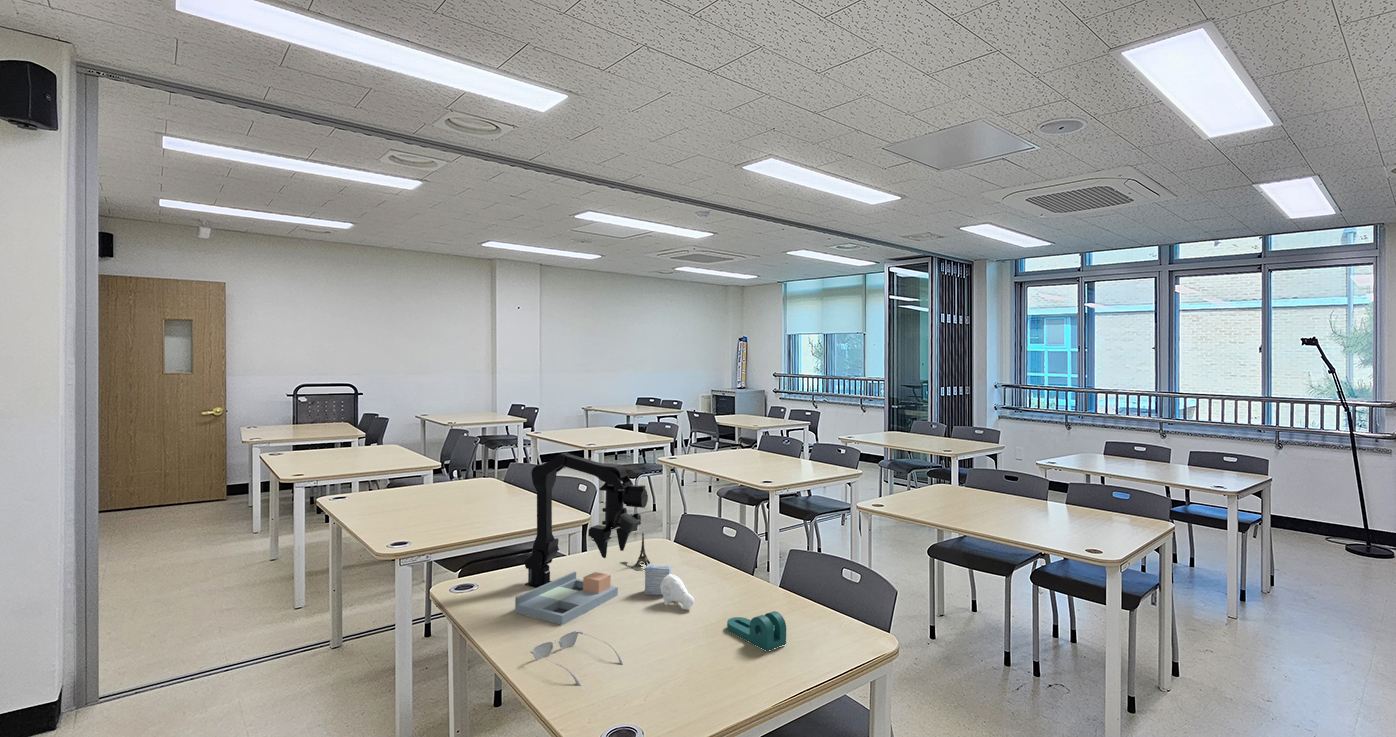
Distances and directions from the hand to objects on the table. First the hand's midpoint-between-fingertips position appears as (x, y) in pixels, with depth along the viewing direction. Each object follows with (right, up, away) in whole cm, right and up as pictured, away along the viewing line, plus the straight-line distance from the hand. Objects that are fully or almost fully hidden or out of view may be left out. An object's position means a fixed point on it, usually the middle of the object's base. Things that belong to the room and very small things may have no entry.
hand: (613, 554), depth 199 cm
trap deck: (-12, -12, -9) cm, 20 cm away
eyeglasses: (-2, -13, -47) cm, 49 cm away
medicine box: (+14, -13, +1) cm, 19 cm away
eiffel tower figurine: (+6, -13, +29) cm, 33 cm away
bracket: (+42, -14, -30) cm, 53 cm away
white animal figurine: (+21, -13, -9) cm, 27 cm away
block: (-5, -10, -3) cm, 11 cm away
